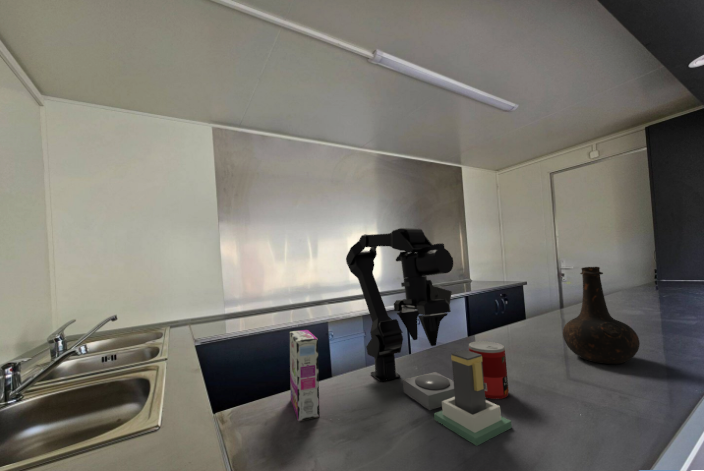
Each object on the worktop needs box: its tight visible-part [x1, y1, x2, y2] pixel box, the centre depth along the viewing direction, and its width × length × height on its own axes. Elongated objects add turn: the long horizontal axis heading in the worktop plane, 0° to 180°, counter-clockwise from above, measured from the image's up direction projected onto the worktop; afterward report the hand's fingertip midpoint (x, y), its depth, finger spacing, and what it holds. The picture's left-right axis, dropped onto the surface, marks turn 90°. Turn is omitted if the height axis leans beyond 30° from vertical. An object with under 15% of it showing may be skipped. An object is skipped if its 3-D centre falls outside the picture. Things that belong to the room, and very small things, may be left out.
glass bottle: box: [562, 266, 640, 365], centre depth 88 cm, size 18×18×28 cm
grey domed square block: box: [402, 371, 455, 411], centre depth 69 cm, size 10×10×3 cm
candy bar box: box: [289, 329, 321, 422], centre depth 66 cm, size 11×5×16 cm, turn 21°
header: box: [433, 397, 513, 447], centre depth 57 cm, size 10×10×4 cm
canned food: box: [468, 340, 509, 400], centre depth 70 cm, size 8×8×11 cm
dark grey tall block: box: [450, 349, 487, 415], centre depth 57 cm, size 5×4×12 cm
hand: (423, 342), depth 69 cm, fingers open, 9 cm apart
